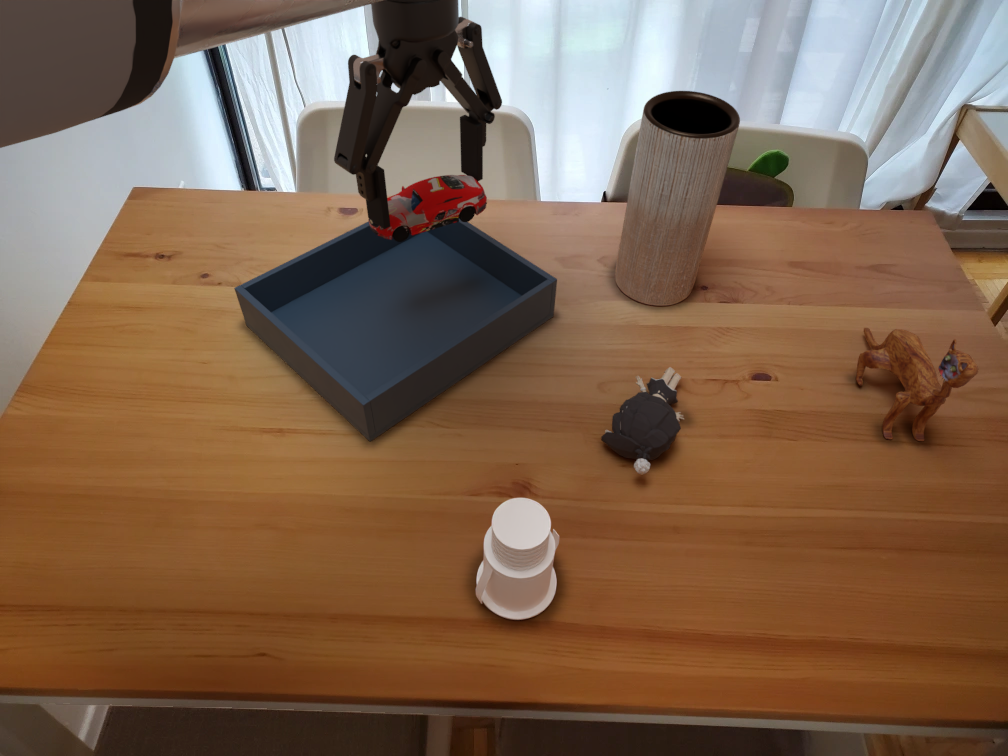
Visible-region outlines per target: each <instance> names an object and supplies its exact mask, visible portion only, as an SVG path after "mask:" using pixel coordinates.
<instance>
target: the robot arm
mask: <svg viewBox="0 0 1008 756" xmlns="http://www.w3.org/2000/svg"><path fill="white" fill-rule="evenodd" d="M368 5H370V6H371V17H372V23H373V27H374V30H375V32H376V35H377V39H378V44H377V48H376V52H375V54H373V55H370V56H369V55H368V56H365V57H360V56H359V55H357V54H352V55H350V56H349V58H348V59H347V67H348V68H347V69H348V82H349V83H348V86H347V87H348V88H347V92H346V97H345V103H344V107H343V113H342V118H341V123H340V128H339V132H338V138H337V142H336V146H335V147H336V148H335V150H334V151H335V152H334V157H333V161H334V163H335V164H336V165H337V166H339V167H340V168H342V169H343V170H344V171H346V172H347V173H349V174H351V175H353V176H355V179H356V184H357V185H356V186H357V193H358V194H359V196H360V197H361V198H363V199H365V203H366V211H367V218H368V220H369V219H371V220H372V221H373V222H375V223H376V224H378V225H379V226H381V227H382V228H383V229H386V228H388V227H390V218H389V209H388V200H387V198H388V191H387V183H386V175H385V169H384V168H382V167H381V166H380V165H379V163H380V161H381V159H382V157H383V154H384V152H385V149H386V147H387V145H388V142H389V140H390V138H391V136H392V133H393V131H394V129H395V126H396V124H397V122H398V119H399V117H400V115H401V112H402V111H403V109H404V108H405V107H407V106H409V104H410V102H411V99H412V98H413V96H416V95H418V94H420V93H422V92H423V91H425V90H426V89H427V88H436V87H437V86H440V85H441V84H442V85H443V86H444V87H445V88H446V90H447V91H448V92H449V93H450V94H451V96H452V97H453V98H454V99H455V100H456V101H457V103H458V104H459V105H460V106H461V107H462V108H463V110H464V111H465V112H466V113H467V114H468V115H467V114H463V115H461V116H459V138H460V139H459V142H460V172H461V173H463V175H467V176H472V177H473V178H475V179H476V180H477V181H478V182H480V181H482V180H483V179H484V178H483V177H484V175H483V173H484V166H483V165H484V164H483V162H484V147H485V146H486V143H487V125H491V124H492V123H493V122H494V121H495V118H496V114H495V113H494V112H493V110H496V111H497V110H499V109H500V108H501V107H502V105H503V99H502V97H501V94H500V91H499V88H498V86H497V82H496V79H495V77H494V74H493V71H492V69H491V66H490V63H489V61H488V58H487V55H486V52H485V50H484V47H483V28H482V25H481V24H479V23H478V22H477V23H476V22H475V21H473V20H470V19H468V18H466V17H463V16H459V14H460V13H459V0H0V149H2V148H5V147H9V146H12V145H16V144H19V143H23V142H27V141H30V140H34V139H38V138H42V137H45V136H49V135H52V134H56V133H60V132H62V131H64V130H68V129H70V128H73V127H76V126H79V125H82V124H85V123H88V122H91V121H95V120H98V119H101V118H104V117H106V116H110V115H113V114H117V113H119V112H123V111H125V110H128V109H131V108H133V107H135V106H138V105H141V104H143V102H146V101H147V100H148V99H150V98H151V97H153V95H154V94H155V93H156V92H157V91H158V90H159V89H160V88H161V86H162V85H163V83H164V81H165V80H166V79H167V77H168V75H169V74H170V70H171V68H172V65H173V62H174V60H175V59H177V58H181V57H185V56H188V55H192V54H195V53H196V54H197V53H199V52H203V51H206V50H211V49H214V48H217V47H220V46H225V45H228V44H231V43H235V42H239V41H242V40H247V39H249V38H253V37H257V36H261V35H263V34H267V33H271V32H274V31H278V30H282V29H285V28H290V27H292V26H297V25H300V24H304V23H307V22H311V21H314V20H318V19H321V18H325V17H326V18H327V17H330V16H333V15H336V14H340V13H344V12H347V11H351V10H355V9H358V8H361V7H365V6H368ZM456 49H458V52H459V55H460V57H461V60H462V62H463V65H464V67H465V70H466V72H467V75H468V77H469V80H470V83H471V85H472V87H471V86H470V85H469V83H468V82H467V81H466V80H465V79H464V77H463V73H462V72H461V71H460V69H459V68H458V67H457V66H456V64H455V63H454V62H453V60H452V58H453V56H454V53H455V52H456ZM440 83H441V84H440ZM393 85H394V86H395V87H397V88H398V89H399V90H398V92H396V91H394V90H393V89H392V86H393ZM472 88H473V89H474V90H473V89H472Z"/></svg>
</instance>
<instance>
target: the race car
mask: <svg viewBox="0 0 1008 756" xmlns="http://www.w3.org/2000/svg"><path fill="white" fill-rule="evenodd" d="M387 200H388V209H389V218H390V227H388V228H386V229H383V228H382V227H381V226H379V225H378V224H376V223H375V222H373V221H372V220H371V219H369V218H368V221H369V226H370V229H371V230H372V231H373V232H374V233H375V234H376V235H378V236H380V237H382V238H386V239H390V240H392V237H393V238H394V240H395V241H397V242H402V241H405V240H406V239H407V238H408V237H409V234H411V235H416V234H419V233H422V232H426V231H429V230H432V229H436V228H439V227H442V226H446V225H449V224H452V223H455V222H459V219H460V220H461V221H462V222H470V221H472V220H473V219H474V217H475V216H479V215H480V214H482V213H483V212H484V211H485V210H486V208H487V204H488V202H487V201H488V198H487V195H486V193H485V190H484V187H483V185H481V183H480V181H477V180H476V179H475V178H473V177H472V176H467V175H466V174H446V175H439V176H433V177H429V178H425V179H421V180H419V181H417V182H414V183H412V184H409V185H408V186H407V187H405V186H404V185H402V186H401V191H399V192H398V193H396V194H393V195H390V196H387ZM368 221H367V222H368Z"/></svg>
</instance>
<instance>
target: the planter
mask: <svg viewBox="0 0 1008 756" xmlns="http://www.w3.org/2000/svg"><path fill="white" fill-rule="evenodd" d="M641 115H642V116H641V120H640V126H639V132H638V137H637V144H636V149H635V154H634V160H633V166H632V173H631V178H630V184H629V190H628V194H627V201H626V206H625V212H624V217H623V223H622V228H621V229H622V230H621V235H620V239H619V240H620V241H619V245H618V252H617V257H616V264H615V271H614V280H615V283H616V285H617V287H618V288H619V290H620V291H621V292H622V293H623V294H625V296H627V297H628V298H630V299H632V300H634V301H636V302H639V303H642V304H645V305H651V306H671V305H675V304H678V303H681V302H682V301H684V300H685V299H687V298H688V297H689V296H690V295H691V292H692V291H693V288H694V285H695V284H696V283H695V282H696V280H697V276H698V272H699V269H700V266H701V261H702V259H703V255H704V252H705V249H706V244H707V241H708V238H709V234H710V232H711V231H710V230H711V227H712V224H713V220H714V216H715V212H716V209H717V205H718V203H719V199H720V195H721V192H722V188H723V184H724V181H725V177H726V174H727V171H728V167H729V162H730V160H731V156H732V152H733V149H734V146H735V142H736V138H737V136H738V135H737V134H738V132H739V128H740V123H741V117H740V114H739V113H738V111H737V109H736V108H735V107H734V106H733V105H732V104H731V103H729V102H727V101H725V100H724V99H722V98H719V97H717V96H715V95H711V94H709V93H705V92H699V91H692V90H671V91H666V92H662V93H659V94H656V95H654V96H653V97H651V98H649V99H648V100H647V101H646V103H645V104H644V106H643V110H642V114H641Z"/></svg>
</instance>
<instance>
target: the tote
mask: <svg viewBox="0 0 1008 756" xmlns="http://www.w3.org/2000/svg"><path fill="white" fill-rule="evenodd" d="M557 286H558V278H556V277H554V275H551V274H550V273H548V272H547V271H545V270H544V269H542V268H540V267H539V266H538V265H536V264H535V263H533V262H532V261H530V260H528V259H526V258H525V257H523V256H522V255H520V254H519V253H518V252H515V251H514V250H512V248H510V247H508V246H506V245H505V244H503V243H501V242H500V241H499V240H497V239H495V238H494V237H492V236H491V235H490V234H487V233H486V232H484V231H483V230H482V229H480V228H479V227H477V226H475V225H473V224H472V223H470V221H468V222H462V221H461V220H460V219H459V222H455V223H452V224H449V225H446V226H442V227H439V228H436V229H432V230H429V231H426V232H422V233H419V234H416V235H411V234H409V237H408V238H407V239H406V240H405V241H402V242H397V241H395V240H394V238H393V237H392V240H390V239H386V238H382V237H380V236H378V235H376V234H375V233H374V232H373V231H372V230H371V229H370V226H369V221H366V222H364V223H362V224H360V225H358V226H356V227H354V228H352V229H350V230H348V231H345V232H344V233H342V234H340V235H338V236H336V237H334V238H332V239H330V240H328V241H326V242H324V243H322V244H320V245H318V246H316V247H313V248H312V249H310V250H308V251H305V252H304V253H302V254H300V255H298V256H296V257H294V258H292V259H290V260H287V261H286V262H284V263H282V264H280V265H277V266H276V267H274V268H272V269H270V270H268V271H266V272H264V273H262V274H260V275H257V276H256V277H254V278H252V279H250V280H247V281H245V282H244V283H242V284H239V285H237V286H235V287H234V291H235V292H234V293H235V295H236V298H237V301H238V304H239V307H240V310H241V313H242V316H243V319H244V322H245V325H246V327H247V328H248V329H249V330H250V331H251V332H252V333H254V334H255V335H256V336H257V337H258V339H260V340H261V341H262V342H263V343H264V344H265V345H266V346H268V347H269V348H270V349H271V350H272V351H273V352H274V353H275V354H276V355H277V356H278V357H279V358H280V359H281V360H282V361H283V362H285V364H287V366H288V367H289V368H291V369H292V370H293V371H294V372H295V373H296V374H297V375H298V376H299V377H300V378H302V380H304V382H306V383H307V384H308V385H309V386H310V387H311V388H312V389H313V390H314V391H315V392H316V393H317V394H318V395H319V396H321V397H322V398H323V399H324V400H325V401H326V402H327V403H328V404H329V405H330V406H331V407H332V408H333V409H334V410H335V411H336V412H338V413H339V414H340V415H341V416H342V417H343V418H344V419H345V420H346V421H347V422H348V423H349V424H351V426H352V427H353V428H355V429H356V430H357V431H358V432H359V433H360V434H361V435H362V436H363V437H364V438H365V439H366V440H367V441H368V442H369V443H371V442H372V441H374V440H375V439H377V438H378V437H379V436H381V435H383V434H384V433H386V432H387V431H388V430H390V429H391V428H392V427H394V426H395V425H397V424H398V423H400V422H402V421H403V420H404V419H406V418H407V417H409V416H410V415H412V414H413V413H414V412H416V411H417V410H419V409H420V408H422V407H423V406H425V405H426V404H427V403H429V402H431V401H432V400H434V398H437V397H438V396H439V395H441V394H442V393H444V392H445V391H447V390H448V389H449V388H451V387H453V386H454V385H455V384H457V383H459V382H460V381H461V380H463V379H464V378H466V377H467V376H469V375H470V374H472V373H473V372H474V371H476V370H478V369H479V368H481V367H482V366H484V364H486V363H488V362H489V361H491V360H492V359H493V358H496V356H497V355H499V354H501V353H502V352H504V351H505V350H507V349H508V348H509V347H511V346H513V345H514V344H515V343H517V342H518V341H520V340H521V339H523V338H524V337H526V336H527V335H529V334H530V333H532V332H533V331H534V330H536V329H537V328H539V327H541V326H542V325H543V324H545V323H546V322H547V321H549V320H551V319H552V318H553V317H554V315H555V306H556V295H557Z"/></svg>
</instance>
